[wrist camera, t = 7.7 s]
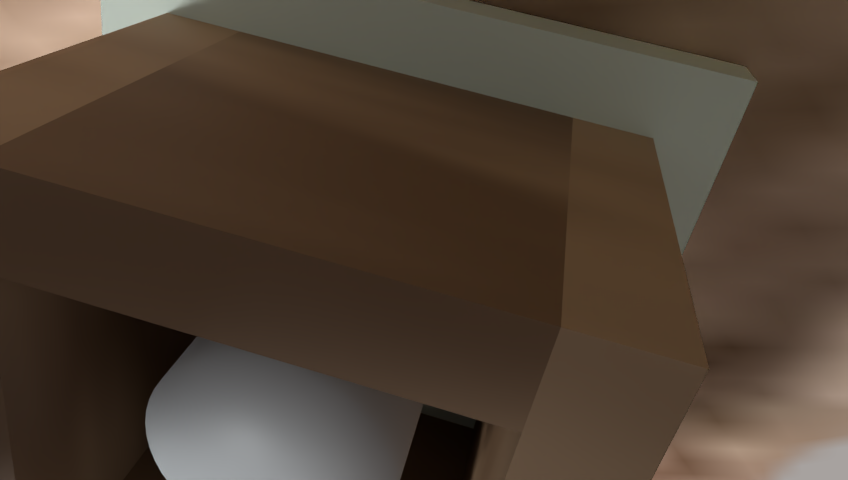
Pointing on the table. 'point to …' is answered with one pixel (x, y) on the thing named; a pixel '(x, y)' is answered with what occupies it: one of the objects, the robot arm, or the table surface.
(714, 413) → the table surface
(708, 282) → the table surface
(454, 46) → the post block
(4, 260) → the walnut sleeve
